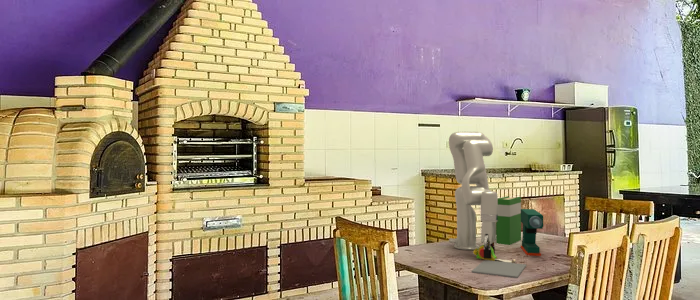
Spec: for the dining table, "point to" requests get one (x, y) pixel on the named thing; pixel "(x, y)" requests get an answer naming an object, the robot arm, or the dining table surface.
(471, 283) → the dining table surface
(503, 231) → the hardback book
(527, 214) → the power tool
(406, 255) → the dining table surface
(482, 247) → the toy measuring tape
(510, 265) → the mat
